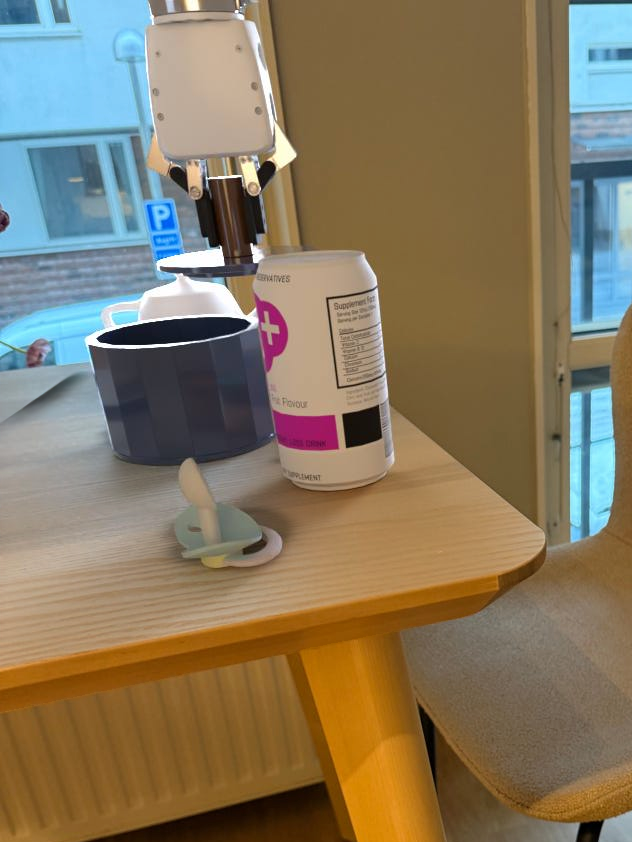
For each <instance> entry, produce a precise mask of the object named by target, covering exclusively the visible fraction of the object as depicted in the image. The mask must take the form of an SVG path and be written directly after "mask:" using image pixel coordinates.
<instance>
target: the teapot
mask: <svg viewBox="0 0 632 842" xmlns="http://www.w3.org/2000/svg"><path fill="white" fill-rule="evenodd" d="M173 276H174V277H175V278H176V280H175V281H173V282H171V283H168V284H166V285H162V286H159V287H156V288H155V287H154V288H153V289H150V290H148V291H145V292H144V293H143V296H141V298H139V299H138V300H134V301H128V302H118V303H114V304H111V305H108V306H106V307H104V308H103V310H102V311H101V313H100V318H101V322H102V325H103V327H104V328H105V329H104V330H106V329H109V328H113V327H116V326H117V325H116V324H115V323H114V321H113V319H112V315H114V314H116V313H122V312H123V313H124V312H138V319H137V322H142V321H148V320H156V319H164V318H173V317H184V316H200V315H238V316H246V317H253V318H256V319H258V317H257V311H256V307H255V308H254V310H252V312H250V313H249V314H247V315H245V314H244V313H243V311H242V310H241V308H240V306H239V305H238V303H237V301H236V300H235V297H234V296H233V295H232V293H231V292H230V290H228V288H227V287H226V286H225V285H223V284H219V283H215V282H204V281H196V280H193V279H191V278H190V277H185V276H182V275H181V274H173Z"/></svg>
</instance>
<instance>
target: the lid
mask: <svg viewBox="0 0 632 842" xmlns="http://www.w3.org/2000/svg"><path fill="white" fill-rule="evenodd" d="M207 179H208V187H209V190H210V192H211V198H212V203H213V209H214V215H215V220H216V226H217V231H218V237H219V243H220V246H219V247H220V249H213V250H205V251H198V252H197V251H196V252H191V253H184V254H180V255H174V256H170V257H167V258H163V259H160V260H158V261H157V263H156V265H157V270H158V271H159V272H160V273H161V272H162V273H166V274H173V275H174V274H181V275H182V276H185V277H188V278H190V279H192V278H193V279H219V278H221V279H223V278H238V277H249V276H256V273H257V270H258V266H259V263H258V260H260V259H262V258H265V257H270V256H275V255H281V254H288V253H298V252H309V251H319V249H318V248H317V247H314V246H308V245H256V246H255V245H252V244H250V242H249V236H248V230H247V224H246V218H245V212H244V206H243V198H244V197H245V190H244V189H245V182H244V177H243V175H230V176H218V177H209V178H207Z"/></svg>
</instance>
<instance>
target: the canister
mask: <svg viewBox="0 0 632 842" xmlns="http://www.w3.org/2000/svg"><path fill="white" fill-rule="evenodd" d="M246 316H247V315H245V316H238V315H200V316H184V317H173V318H164V319H156V320H148V321H142V322H138V321H137V322H132V323H127V324H121V325H116V327H113V328H109V329H103V330H100V331H96V332H94V333H93V334H91V335H89V336H87V337H85V338H84V343H85V346H86V350H87V355H88V358H89V362H90V367H91V370H92V374H93V378H94V382H95V386H96V390H97V391H96V392H97V394H98V398H99V402H100V406H101V411H102V415H103V419H104V424H105V427H106V431H107V434H108V439H109V442H110V443H109V444H110V445H111V448H112V451H113V454H114V455H115V457H116V458H118V459H119V460H121V461H124V462H127V463H131V464H137V465H146V466H149V465H150V466H178V465H179V466H181V465H182V463H183V462H184V461H185V460H186V459H188V458H192V459H193V460H194V461H195V462H196V464H197V463H198V464H201V463H205V462H212V461H217V460H222V459H226V458H231V457H236V456H239V455H242V454H247V453H249V452H251V451H254V450H257V449H259V448H262V447H263V446H266V445H268V444H269V443H270V442H272V441H273V440H274V439H276V438H277V436H276V430H275V423H274V417H273V411H272V405H271V398H270V392H269V386H268V380H267V373H266V367H265V361H264V355H263V348H262V342H261V336H260V330H259V323H258V319H256V318H253V317H246Z"/></svg>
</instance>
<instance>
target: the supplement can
mask: <svg viewBox="0 0 632 842" xmlns="http://www.w3.org/2000/svg"><path fill="white" fill-rule="evenodd" d="M258 263H259V266H258V270H257V273H256V275H254V279H253V282H252V291H253V297H254V305H255V308H256V311H257V317H258V323H259V330H260V336H261V342H262V348H263V355H264V361H265V367H266V373H267V380H268V386H269V392H270V398H271V405H272V411H273V417H274V423H275V430H276V442H277V447H278V453H279V460H280V468H281V471H282V476H283V477H285V478H287V479H289V480H291V482H292V484H293V485H296V486H297V487H299V488H301V489H305V490H311V491H327V492H330V491H331V492H332V491H343V490H344V491H345V490H349V489H350V490H351V489H355V488H360V487H364V486H367V485H370V484H372V483H375V482H377V481H379V480H381V479H382V478H384V477H385V476H386V474H387V472H388V470H389V469H391V468H392V467H393V464H394V462H395V452H394V441H393V432H392V422H391V411H390V401H389V391H388V382H387V381H388V380H387V371H386V360H385V359H386V358H385V351H384V342H383V331H382V321H381V320H382V319H381V308H380V300H379V289H378V280H377V276H376V274H375V272H374V271H373V269H372V268H371V265H370V264H369V263H368V260H367V259H366V255H365V252H363V251H361V250H354V249H350V250H349V249H332V250H331V249H329V250H328V249H327V250H326V249H325V250H318V251H309V252H298V253H288V254H281V255H275V256H270V257H265V258H262V259H260V260H258Z"/></svg>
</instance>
